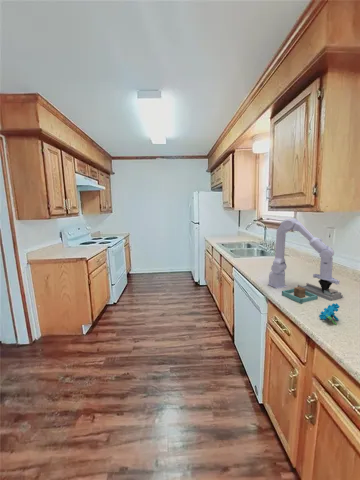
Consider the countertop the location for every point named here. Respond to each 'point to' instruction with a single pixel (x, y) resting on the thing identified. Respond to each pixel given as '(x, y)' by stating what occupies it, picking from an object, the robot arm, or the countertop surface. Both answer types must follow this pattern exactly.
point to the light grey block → (330, 292)
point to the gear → (330, 312)
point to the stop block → (299, 292)
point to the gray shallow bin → (318, 292)
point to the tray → (299, 300)
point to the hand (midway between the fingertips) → (324, 292)
